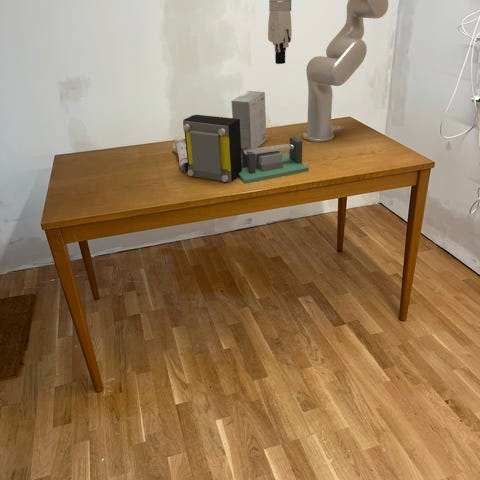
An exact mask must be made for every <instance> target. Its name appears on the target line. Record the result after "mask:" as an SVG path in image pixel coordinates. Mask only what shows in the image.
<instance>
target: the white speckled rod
mask: <svg viewBox="0 0 480 480" xmlns="http://www.w3.org/2000/svg"><path fill="white" fill-rule="evenodd" d="M173 142H174V143H173V144H172V148H173V150H174V151H173V152H174V153H175V154H177V155H178V160H179V161H178V165H179V167H180V169H181V171H182V172H183V173H188V160H187V151H186V142H185V138H184V137H183V136H175V137H174V141H173Z"/></svg>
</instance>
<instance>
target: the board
mask: <svg viewBox="0 0 480 480" xmlns="http://www.w3.org/2000/svg"><path fill="white" fill-rule="evenodd" d="M289 143H290V144H292V145H294V146H295V150H292V149H289V152H288V153H282V152H280V151H274V152H266V153H259V154H255V153H253V152H252V153H248V155H246V154H245V153H244V150H245V149H248V148H247V147H243V148H241V158H242V171H241V172H240V173H239V174H238V175H239V177H238V178H239V179H240V180H241V181H242V182H243V183H244V184H249V183H250V184H251V183H254V182H259V181H265V180H270V179H274V178H279V177H280V178H281V177H285V176H289V175H294V174H299V173H305V172H309V166H307V165H306V164H305V163H303V141H302V140H301V139H300V138H298V137H296V136H291V137H289Z"/></svg>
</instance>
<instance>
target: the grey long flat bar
mask: <svg viewBox="0 0 480 480" xmlns="http://www.w3.org/2000/svg"><path fill="white" fill-rule="evenodd" d="M290 149H292V150H295V146H294V145H292V144H290V141H289V142H287V143H284V144H276V145H268V146H263V147H262V146H261V147H260V146H259V147H257V148H253V149H245V150H244V153H245V154H246V155H248V153H252V152H253V153H255V154H259V153H266V152H274V151H277V152H278V151H279V152H280V151H288V150H290Z"/></svg>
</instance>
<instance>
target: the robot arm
mask: <svg viewBox="0 0 480 480" xmlns="http://www.w3.org/2000/svg"><path fill="white" fill-rule="evenodd" d="M268 1H269V2H268V4H269V5H268V7H269V8H268V10H269V11H268V12H269V13H268V23H267V24H268V25H267V39H268V42H270V43H272V45H273V46H274V52H275V53H274V55H275V56H274V58H275V64H276V65H284V64H286V51H287V48H289V43H291V42H292V34H293V33H292V31H293V30H292V15H291V12H292V0H268ZM388 8H389V0H348V1H347V4H346V20H345V24H344V25H343V27H342V28H341V30H340V31H338V33H337V34H336V35H335V36H334V37H333V39H332V40H331V41H330V42H329V43H328V45H327V47H326V50H325V55H326V56H323V55H321V56H320V55H319V56H318V55H317V56H314V57H311V59H310V60H309V61H308V63H307V65H306V79H307V88H308V91H307V92H308V95H307V121H306V122H307V127H306V128H307V129H306V131H305V132H303V135H302V136H303V138H304V139H305V140H306V141H311V142H319V143H320V142H328V141H331V140H333V139H335V138H334V137H335V134H334V132H335V131H341V130H342V126H341V125H335V124H332V108H333V88H332V86H333V87H335V86H336V87H339V86H342V85H344V84H345V83H346V82H347V81H348V80H349V79H350V78H351V76H352V75H354V73H355V72H356V70H358V68H359V67H360V66H361V65H362V64H363V62H364V60H365V58H366V56H367V51H368V50H367V48H368V47H367V44H366V42H365V41H364V40H363V37H364V35H365V27H364V26H365V25H364V19H380V18H381V19H382V17H384V16H385V15H386V14H387V12H388Z"/></svg>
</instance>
